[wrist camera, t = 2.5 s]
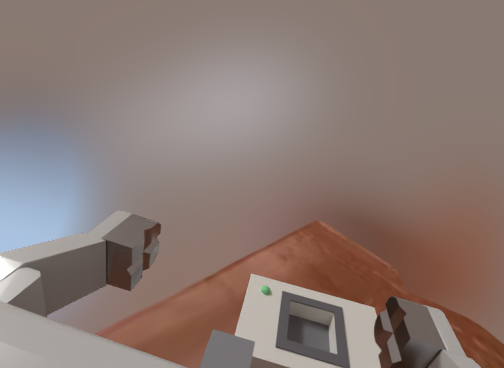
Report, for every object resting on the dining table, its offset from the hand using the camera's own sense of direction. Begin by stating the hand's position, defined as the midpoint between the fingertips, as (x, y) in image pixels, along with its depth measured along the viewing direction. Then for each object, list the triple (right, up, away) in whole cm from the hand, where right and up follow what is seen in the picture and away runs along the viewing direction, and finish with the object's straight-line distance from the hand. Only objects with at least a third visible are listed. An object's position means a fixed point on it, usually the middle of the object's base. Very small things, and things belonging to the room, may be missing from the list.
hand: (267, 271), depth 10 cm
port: (+6, -17, +27) cm, 33 cm away
